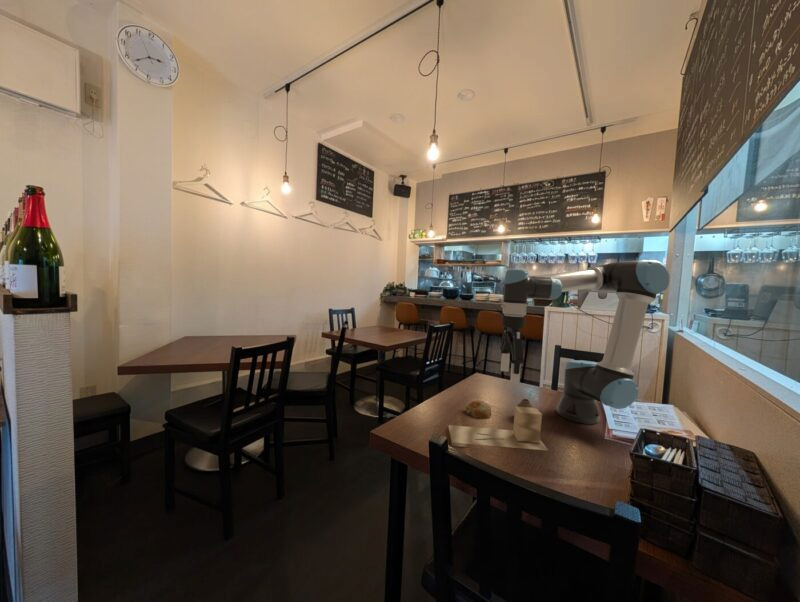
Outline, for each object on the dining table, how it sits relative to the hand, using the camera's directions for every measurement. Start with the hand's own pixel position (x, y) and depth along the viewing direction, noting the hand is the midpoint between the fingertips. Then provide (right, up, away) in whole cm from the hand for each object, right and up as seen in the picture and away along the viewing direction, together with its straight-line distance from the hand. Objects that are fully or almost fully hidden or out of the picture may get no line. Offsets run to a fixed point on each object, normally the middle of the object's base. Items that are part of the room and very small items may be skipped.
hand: (509, 376), depth 106 cm
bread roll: (-7, -20, +16) cm, 26 cm away
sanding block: (+4, -20, -3) cm, 21 cm away
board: (-6, -21, -3) cm, 22 cm away
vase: (+10, -21, +13) cm, 27 cm away
